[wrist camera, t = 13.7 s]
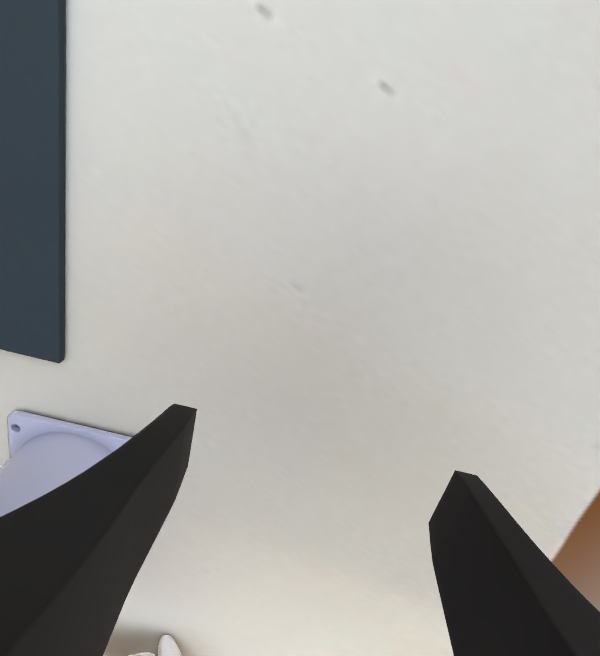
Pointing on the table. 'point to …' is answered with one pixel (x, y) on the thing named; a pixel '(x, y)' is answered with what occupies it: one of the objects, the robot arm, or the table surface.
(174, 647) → the white lumpy figurine
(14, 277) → the display mat
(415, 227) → the table surface
